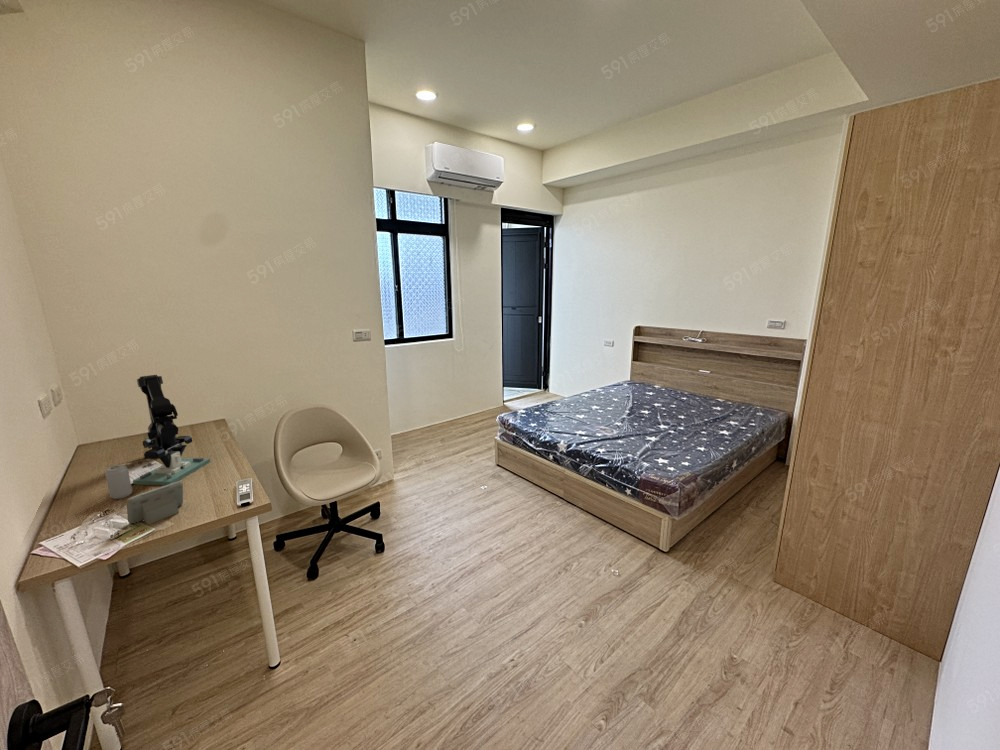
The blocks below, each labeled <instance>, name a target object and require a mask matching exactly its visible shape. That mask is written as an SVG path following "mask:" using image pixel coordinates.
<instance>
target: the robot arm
mask: <svg viewBox="0 0 1000 750" xmlns="http://www.w3.org/2000/svg"><path fill="white" fill-rule="evenodd" d="M136 382H137V387H138V388H140V390H141V392H142V393H143V394H145V396H146V401H147V407H148V411H149V412H148V413H149V419H150V424H149V426H148V427H147V430H148V432H146V437H147V439H145V440H143V441H142V446H143V448H145V449H147V448H148V449H149V450H146V451H145V452H144V453H143V456H144V459H151V460H152V459H153V460H157V459H159V460H160V461H161V462H163V463H162V465H163V464H164V465H165V466H166V467H167V468H169V467H170V460H171V453H168V452H169V451H180V455H181V457H182V455H183V453H184V451H185V449H186V447H187V446H188V444H191V443H193V437H192V436H190V435H179V427H178V426H177V425H176V424H175V422H174V420H177V419H178V415H179V414H178V411H177V407H176V406H175V405H174V404H173V403H171V400H170V399H169V398H167V397H165V395H164V392H163V389H162V385H163V384H164V381H163V377H162V375H158V374H151V375H149V374H148V375H143V376H139V378H137V379H136ZM177 435H179V436H177Z"/></svg>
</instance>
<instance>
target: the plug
mask: <svg viewBox="0 0 1000 750" xmlns="http://www.w3.org/2000/svg"><path fill="white" fill-rule="evenodd" d="M168 453H171V460H170V467H169V468H167V467H166V466H165V465H164V464H163V462H162V461H161V462H162V465H163V468H164V469H176V468H178V467H182V461H181V458H182V456H181V455H180V451H169V452H168Z"/></svg>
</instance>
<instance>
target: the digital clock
mask: <svg viewBox="0 0 1000 750" xmlns="http://www.w3.org/2000/svg"><path fill="white" fill-rule="evenodd" d="M183 503H184V483H183V481H181V480H179V481H177V482H174V483H171V484H168V485H162V486H159V487H157V488H153V489H151V490H149V491H145V492H143V493H140V494H137V495H134V496H131V497H129V498H128V499H127V500H126V514H127V522H128V523H129V524H130V523H134V524H137V523H140V522H144V521H145V522H144V523H146V524H147V523H148V524H149V525H151V524H150V523H152V524H153V522H154V523H156V521H157V522H159V521H161V520H165V519H166V518H169V517H172V516H174V515H177V514H179V507H180V506H182V505H183ZM143 520H144V521H143ZM139 521H140V522H139ZM136 522H137V523H136ZM148 524H147V525H148Z"/></svg>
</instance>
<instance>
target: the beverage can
mask: <svg viewBox="0 0 1000 750" xmlns="http://www.w3.org/2000/svg"><path fill="white" fill-rule="evenodd" d="M104 475H105V481H106V483H107V489H108V493H109V496H110V498H111V499H115V500H120V499H123V498H124V499H125V498H126V497H129V496H131V494H132V493H133V492H134V491H133V488H132V482H131V477H130V473H129V468H128V467H127V465H125V464H116V465H112V466H109V467H107V468H106V469H105V472H104Z"/></svg>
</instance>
